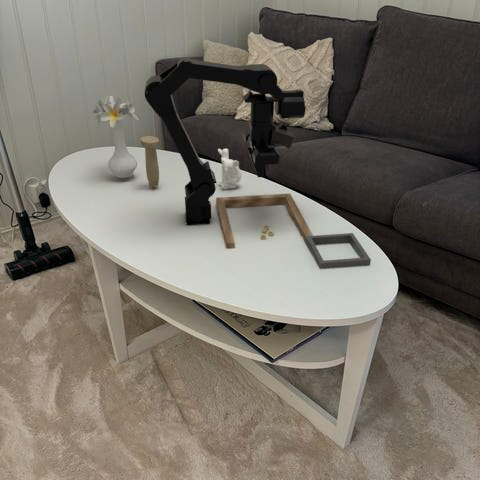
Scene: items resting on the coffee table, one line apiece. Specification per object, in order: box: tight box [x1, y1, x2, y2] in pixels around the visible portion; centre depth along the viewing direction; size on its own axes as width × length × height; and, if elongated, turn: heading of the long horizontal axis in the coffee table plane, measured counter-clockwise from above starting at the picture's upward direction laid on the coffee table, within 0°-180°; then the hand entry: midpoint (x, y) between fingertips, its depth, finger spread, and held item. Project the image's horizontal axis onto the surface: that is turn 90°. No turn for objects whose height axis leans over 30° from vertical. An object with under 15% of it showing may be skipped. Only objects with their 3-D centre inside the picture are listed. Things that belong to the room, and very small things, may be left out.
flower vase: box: [92, 95, 140, 179], centre depth 149 cm, size 13×18×25 cm
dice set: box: [260, 225, 275, 241], centre depth 122 cm, size 5×5×2 cm
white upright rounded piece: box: [217, 148, 242, 190], centre depth 144 cm, size 8×7×12 cm
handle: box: [140, 135, 160, 188], centre depth 144 cm, size 5×6×15 cm
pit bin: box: [305, 232, 372, 269], centre depth 113 cm, size 12×12×3 cm
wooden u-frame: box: [215, 193, 314, 249], centre depth 127 cm, size 22×25×2 cm
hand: (259, 176), depth 125 cm, fingers closed
